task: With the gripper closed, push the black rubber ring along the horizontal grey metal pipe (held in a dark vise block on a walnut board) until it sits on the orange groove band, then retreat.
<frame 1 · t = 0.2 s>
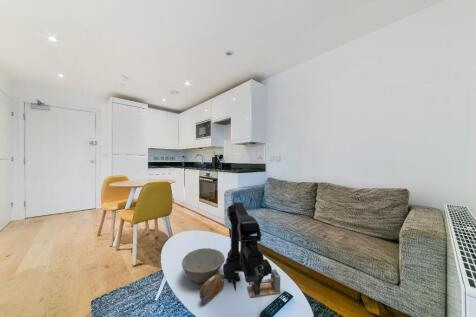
hand: (246, 289, 73), 14 cm above the table, fingers open, 9 cm apart
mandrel: (263, 290, 92), on the table
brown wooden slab: (212, 295, 88), on the table
ceramic bowl: (203, 277, 101), on the table
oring: (255, 282, 91), point 4 cm above the table, slide at 0.0 cm
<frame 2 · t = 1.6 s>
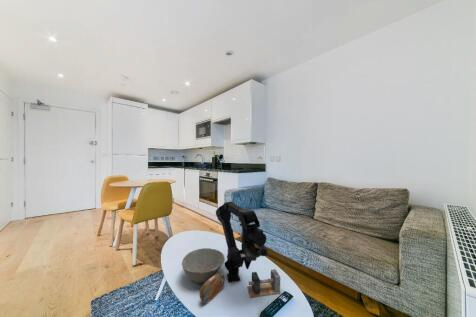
hand: (247, 268, 90), 12 cm above the table, fingers closed
nothing on the table moved.
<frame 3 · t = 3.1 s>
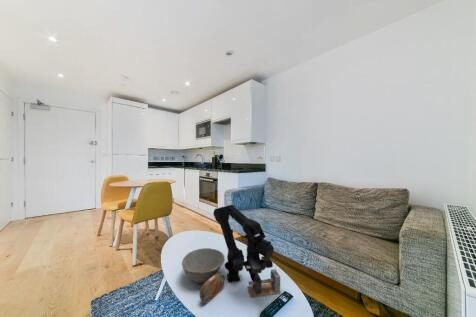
hand: (252, 280, 90), 6 cm above the table, fingers closed
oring: (256, 282, 91), point 4 cm above the table, slide at 0.5 cm, touching gripper
everything else where it was.
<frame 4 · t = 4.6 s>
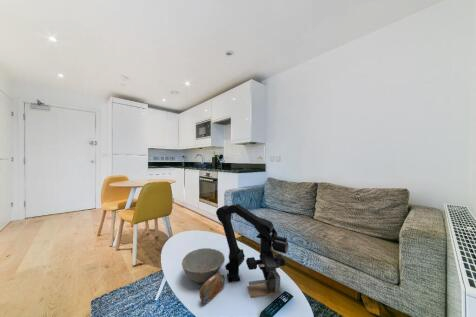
hand: (265, 278, 92), 6 cm above the table, fingers closed
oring: (269, 280, 92), point 5 cm above the table, slide at 7.3 cm, touching gripper
everything else where it was.
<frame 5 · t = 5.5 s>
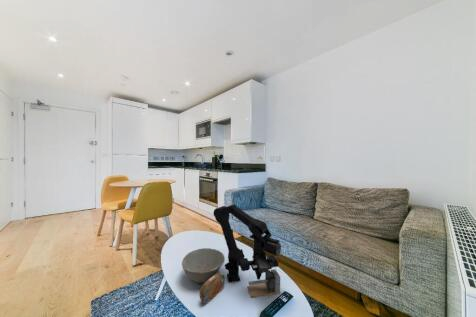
hand: (258, 279, 91), 6 cm above the table, fingers closed
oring: (269, 280, 92), point 4 cm above the table, slide at 7.3 cm
everything else where it was.
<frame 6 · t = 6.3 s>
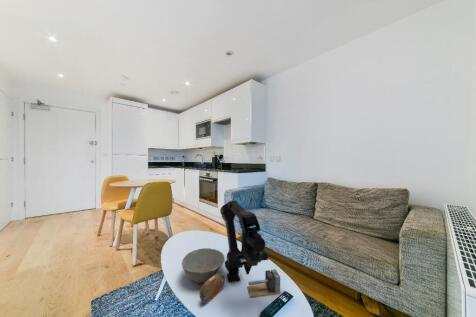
hand: (247, 274, 86), 12 cm above the table, fingers closed
nothing on the table moved.
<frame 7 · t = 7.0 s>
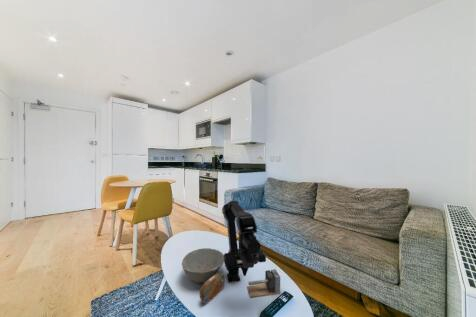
hand: (244, 275, 85), 12 cm above the table, fingers closed
nothing on the table moved.
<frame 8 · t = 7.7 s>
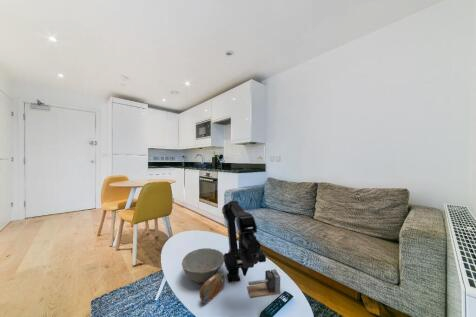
hand: (244, 275, 85), 12 cm above the table, fingers closed
nothing on the table moved.
at the end: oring slide at 7.3 cm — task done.
